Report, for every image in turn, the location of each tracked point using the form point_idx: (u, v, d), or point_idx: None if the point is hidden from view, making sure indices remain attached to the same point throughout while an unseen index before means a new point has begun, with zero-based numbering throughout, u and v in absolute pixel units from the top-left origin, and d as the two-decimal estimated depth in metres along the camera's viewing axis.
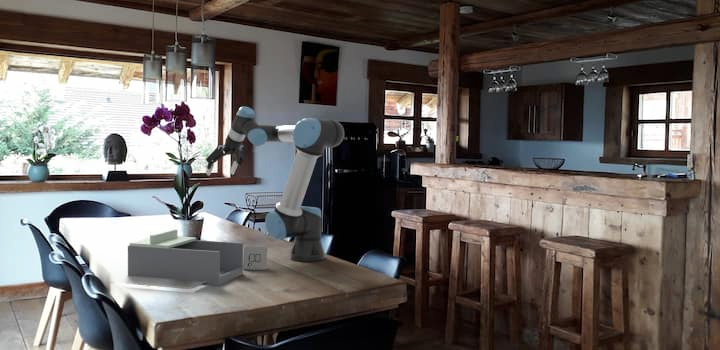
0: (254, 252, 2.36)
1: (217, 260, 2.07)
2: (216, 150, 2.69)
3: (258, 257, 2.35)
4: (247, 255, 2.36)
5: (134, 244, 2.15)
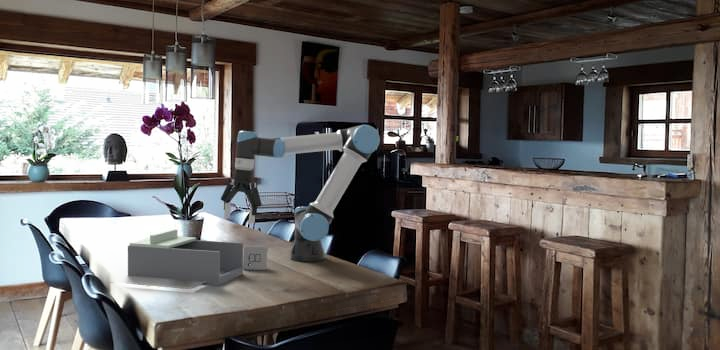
0: (254, 252, 2.36)
1: (217, 260, 2.07)
2: (255, 189, 2.35)
3: (258, 257, 2.35)
4: (247, 255, 2.36)
5: (134, 244, 2.15)
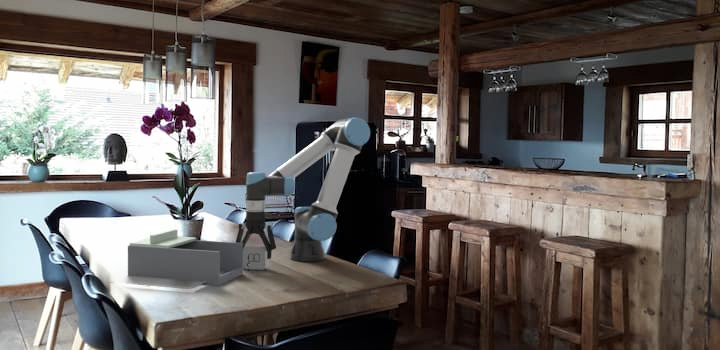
0: (254, 252, 2.36)
1: (217, 260, 2.07)
2: (271, 232, 2.35)
3: (257, 257, 2.35)
4: (246, 255, 2.36)
5: (134, 244, 2.15)
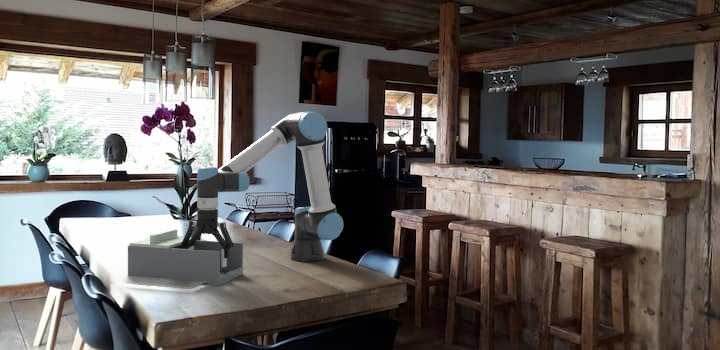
0: None
1: (217, 260, 2.07)
2: (225, 230, 2.17)
3: None
4: None
5: (134, 244, 2.15)
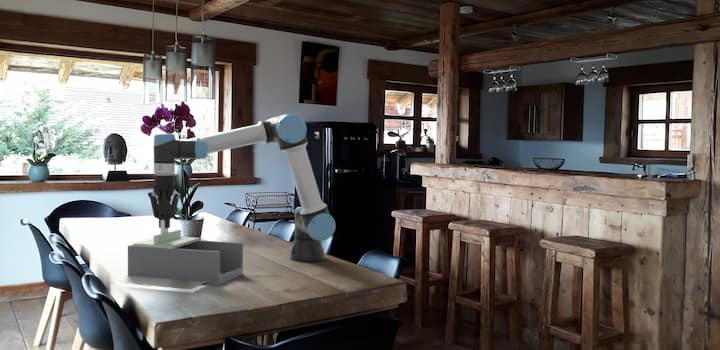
0: None
1: (217, 260, 2.07)
2: (176, 201, 2.21)
3: None
4: None
5: (138, 244, 2.15)
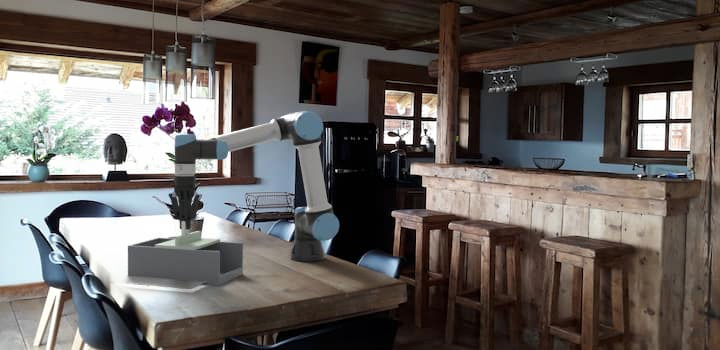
0: None
1: (217, 260, 2.07)
2: (197, 202, 2.19)
3: None
4: None
5: (159, 246, 2.13)
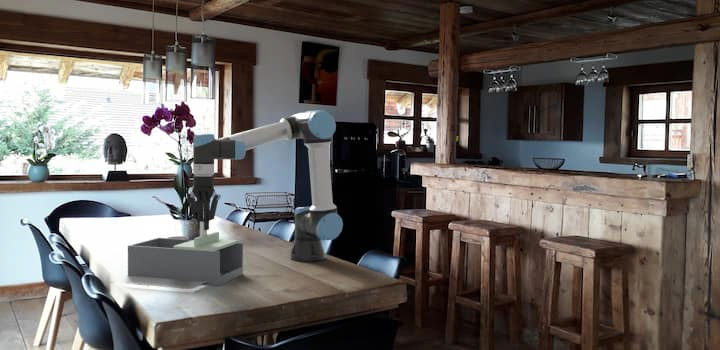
0: None
1: (217, 260, 2.07)
2: (215, 202, 2.17)
3: None
4: None
5: (178, 247, 2.11)
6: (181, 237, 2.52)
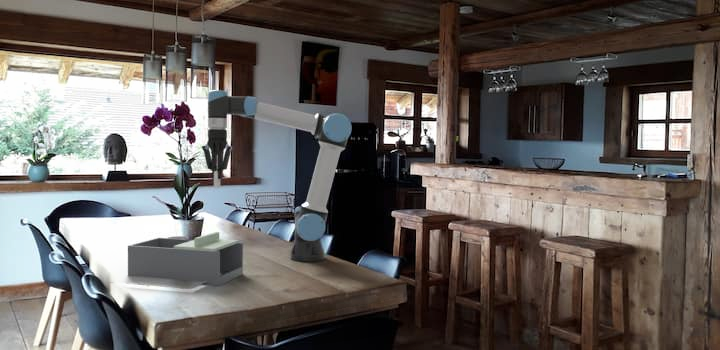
0: None
1: (217, 260, 2.07)
2: (228, 153, 2.38)
3: None
4: None
5: (178, 247, 2.11)
6: (181, 237, 2.52)
